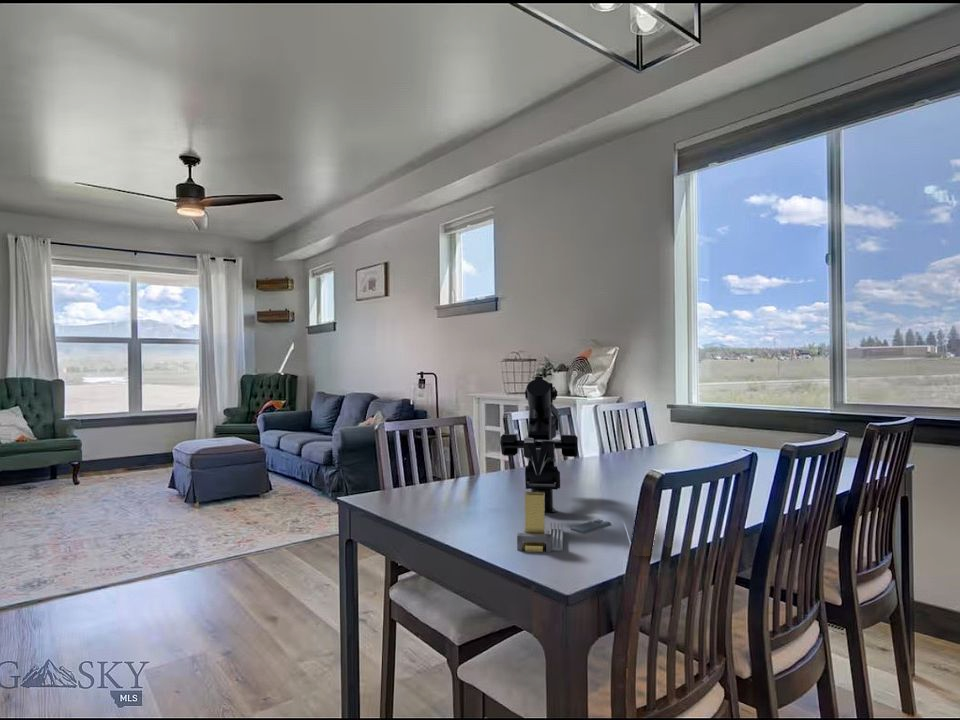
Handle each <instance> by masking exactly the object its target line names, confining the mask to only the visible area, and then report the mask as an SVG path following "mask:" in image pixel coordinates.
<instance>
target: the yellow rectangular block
mask: <svg viewBox="0 0 960 720" xmlns="http://www.w3.org/2000/svg"><path fill="white" fill-rule="evenodd" d="M545 514H546V513H545V496H544V492H531V491H525V494H524V522H525V523H524V524H525V525H524V526H525V528H524V530H525V533H532V534H546V526H545V525H546V520H545V519H546V515H545ZM545 545H546V543H540V542H525V543H524V546H525V547H524V549H525V550H524V552H529V553H530V552H531V553H532V552H533V553H543V552H544V548H546V546H545Z"/></svg>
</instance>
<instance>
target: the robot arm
mask: <svg viewBox="0 0 960 720" xmlns="http://www.w3.org/2000/svg"><path fill="white" fill-rule="evenodd" d="M524 391H525V392H524V396H525V400H526V401H527V404H528V408H529V409H528V429H527V437H523V439H522V440H521V439H518V434H516V433H502V435H501V436H500V439H499V442H500V444H499V445H500V450H501V455H503V456H505V457H506V456H507V457H508V456H510V457H512V456H513V457H515V456H516V455H518V453H519V450H523V451H522V452H523V457H524V458H526V459H527V460H528V462H527V465H525V467H524V468H525V469H524V475H525V476H524V477H525V480H524V481H525V490H530V492H544V496H545V514H557V509H555V507H554V497H553V495H554V494H553V493H554V492H553V491H554V490H557V491H558V489H561V472H560V470H559V468H558V466H557V465H556V461H555V460H556V459H554V458H555V451H556V450H557V449H558V450H559V449H560V450H561V455H562V456H564V457H566V458H567V457H568V458H569V457H570V458H572V457H573V458H575V457H577V456H579V455H578V453H579V452H578V451H579V450H578V448H579V445H578V444H579V443H578V441H579V439H578V436H577V435H576V434H561V435H560V436H561V437H560V438H561V439H555V438H556V437H557V432H559V429H560V428H559V427H560V425H559V411H558V409H557V408H556V407H555V405H554V401H555V400H556V399H557V397H558V390H557V388H556V387H555V386H553V382H548V381H547V380H545V379H544V376H542V375H541V376H535V377H534V379H533V380H531V381H529V382H528V384H527V386H526V388H525V390H524Z"/></svg>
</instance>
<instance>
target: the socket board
mask: <svg viewBox="0 0 960 720" xmlns="http://www.w3.org/2000/svg"><path fill="white" fill-rule="evenodd" d="M549 526H550V527H549V530H548V531H547V533H545V534H532V533H525V529H524V530H523V533H522V532H518V533H517V535H516V538H517V539H516V540H517V541H516V543H517V544H516V546H517V547H516V548H517V550H516V551H519V552H520V551H521V552H522V551H523V548H525V547H524V546H525V542H540V543H545V545H546V546H545V548H546V549H545V550H546V551H545V552H546V553H551V552H552V551H559V552H561V551H562V552H563V546H564V545H563V544H564V529H563V523H562V522H561V524H560V523H559V522H557V525H556V522H554V523H552V522H550V525H549Z"/></svg>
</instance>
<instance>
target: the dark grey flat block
mask: <svg viewBox="0 0 960 720" xmlns="http://www.w3.org/2000/svg"><path fill="white" fill-rule="evenodd" d="M611 525H612V523H611V522H610V521H607V520H606V521H605V520H603V519H601V518H600V519H599V518H598V519H593V520H592V521H587V522H583V523H581V524H578V525H574V526H571V527H570V531H572V532H576V533H579V534H586V533H589V532H592V531H595V530H599V529H602V528H605V527H608V526H611Z"/></svg>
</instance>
